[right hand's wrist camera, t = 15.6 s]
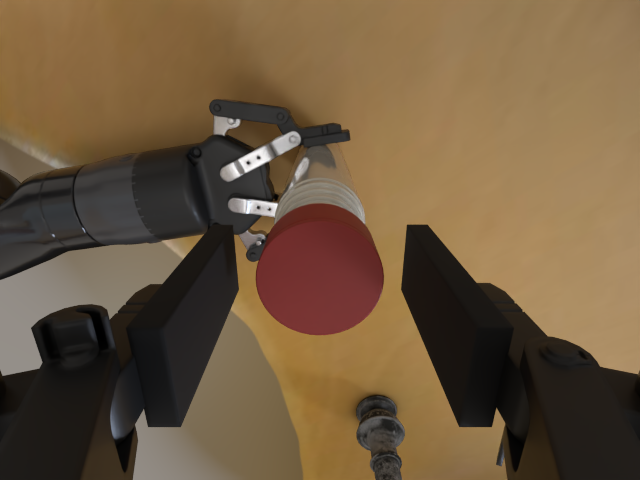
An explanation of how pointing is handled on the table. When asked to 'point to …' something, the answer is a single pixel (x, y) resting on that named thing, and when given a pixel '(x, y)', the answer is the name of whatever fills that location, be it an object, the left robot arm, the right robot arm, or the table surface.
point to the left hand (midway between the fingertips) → (352, 166)
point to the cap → (319, 270)
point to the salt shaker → (381, 436)
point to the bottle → (319, 182)
